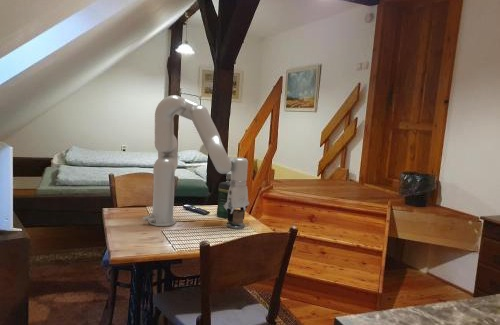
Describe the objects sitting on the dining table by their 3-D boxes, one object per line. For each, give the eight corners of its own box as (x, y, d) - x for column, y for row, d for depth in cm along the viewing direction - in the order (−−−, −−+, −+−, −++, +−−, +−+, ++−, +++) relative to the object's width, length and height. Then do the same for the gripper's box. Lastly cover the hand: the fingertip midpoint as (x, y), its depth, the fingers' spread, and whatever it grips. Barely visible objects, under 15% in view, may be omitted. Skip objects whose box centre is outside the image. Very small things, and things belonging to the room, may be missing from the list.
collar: (235, 224, 167) (236, 213, 167) (225, 220, 172) (226, 210, 172) (246, 221, 172) (246, 211, 172) (236, 218, 177) (236, 208, 177)
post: (235, 230, 166) (236, 215, 165) (222, 225, 172) (223, 211, 172) (248, 227, 173) (249, 212, 172) (235, 222, 179) (236, 208, 178)
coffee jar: (226, 219, 183) (229, 183, 181) (214, 216, 187) (216, 181, 185) (236, 215, 192) (239, 181, 189) (224, 212, 195) (226, 179, 193)
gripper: (230, 186, 161) (227, 224, 163) (256, 183, 174) (253, 219, 176) (219, 183, 166) (217, 220, 169) (245, 181, 179) (243, 215, 181)
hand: (235, 219), depth 172 cm, fingers closed on collar, 7 cm apart
